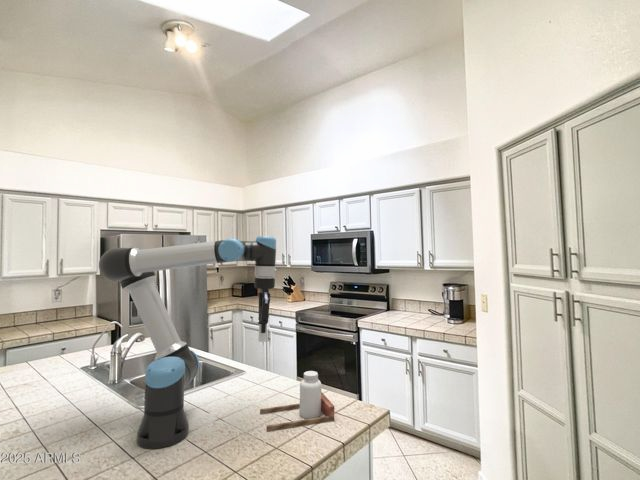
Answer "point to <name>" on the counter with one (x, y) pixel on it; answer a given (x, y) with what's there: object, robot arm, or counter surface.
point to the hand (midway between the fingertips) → (262, 341)
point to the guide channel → (326, 409)
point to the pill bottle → (310, 395)
